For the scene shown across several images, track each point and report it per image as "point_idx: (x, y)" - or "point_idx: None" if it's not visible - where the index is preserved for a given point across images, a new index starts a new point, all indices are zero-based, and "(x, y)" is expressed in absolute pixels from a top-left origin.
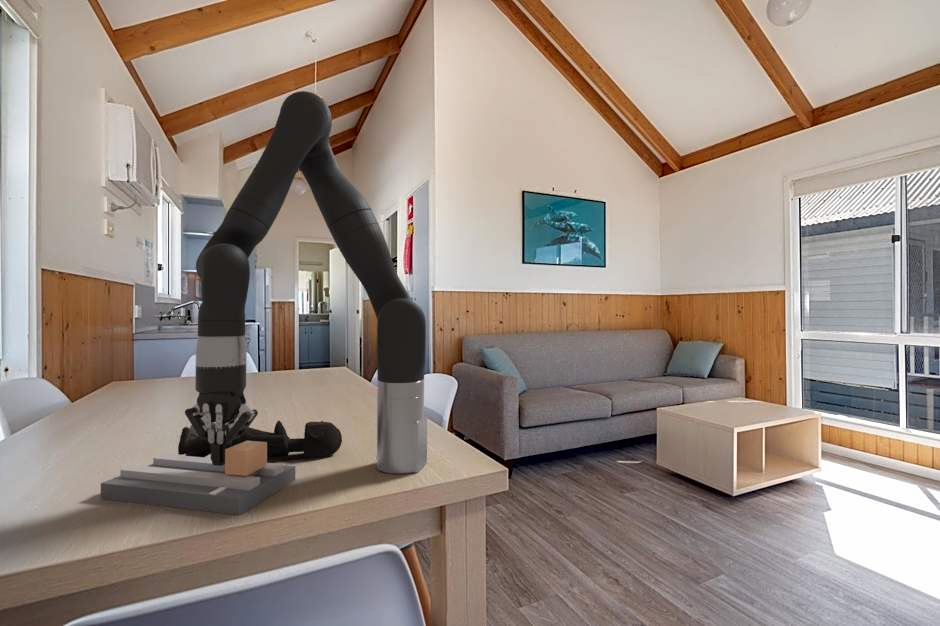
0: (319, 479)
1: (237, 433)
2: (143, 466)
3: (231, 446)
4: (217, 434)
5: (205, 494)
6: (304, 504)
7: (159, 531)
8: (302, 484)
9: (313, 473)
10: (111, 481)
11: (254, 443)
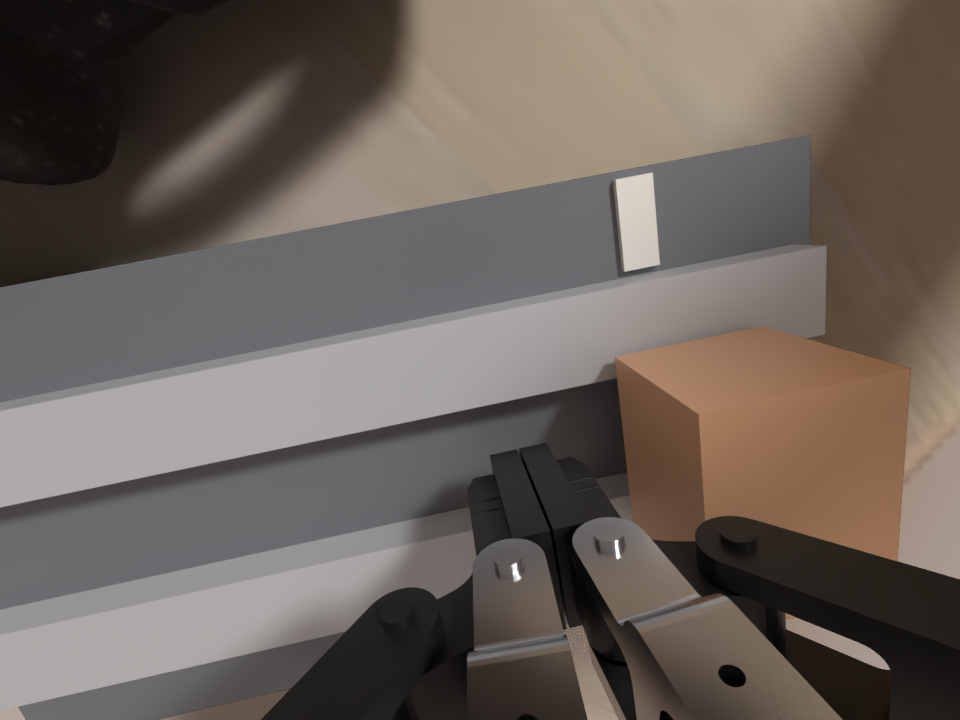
0: (872, 84)
1: (851, 661)
2: (31, 635)
3: (60, 51)
4: (619, 714)
5: None
6: (943, 358)
7: (602, 691)
8: (820, 185)
9: (790, 11)
10: (61, 717)
11: (828, 445)
